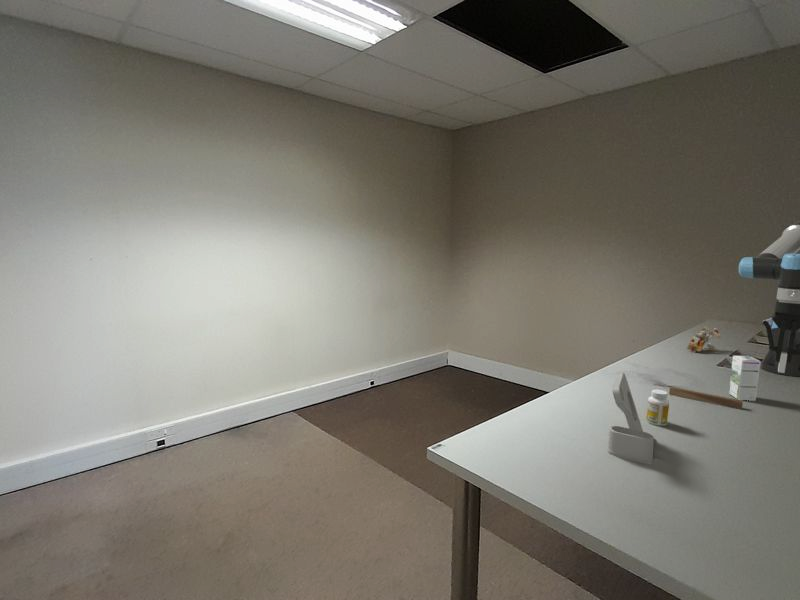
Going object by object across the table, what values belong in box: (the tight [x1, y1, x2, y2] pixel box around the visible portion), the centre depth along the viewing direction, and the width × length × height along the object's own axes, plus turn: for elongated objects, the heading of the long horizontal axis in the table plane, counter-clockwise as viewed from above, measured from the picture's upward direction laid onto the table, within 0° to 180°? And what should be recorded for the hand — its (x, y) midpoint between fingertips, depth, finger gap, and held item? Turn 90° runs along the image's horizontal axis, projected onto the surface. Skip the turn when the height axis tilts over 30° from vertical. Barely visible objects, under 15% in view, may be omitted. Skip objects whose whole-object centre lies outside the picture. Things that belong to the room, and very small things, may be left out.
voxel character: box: [686, 325, 722, 354], centre depth 201 cm, size 11×10×15 cm
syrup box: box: [728, 355, 762, 402], centre depth 142 cm, size 6×6×14 cm
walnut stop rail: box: [668, 386, 744, 410], centre depth 140 cm, size 2×20×2 cm, turn 50°
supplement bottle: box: [645, 389, 670, 427], centre depth 123 cm, size 5×5×10 cm
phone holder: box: [607, 372, 655, 465], centre depth 108 cm, size 17×10×18 cm, turn 147°
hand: (781, 371), depth 136 cm, fingers closed
